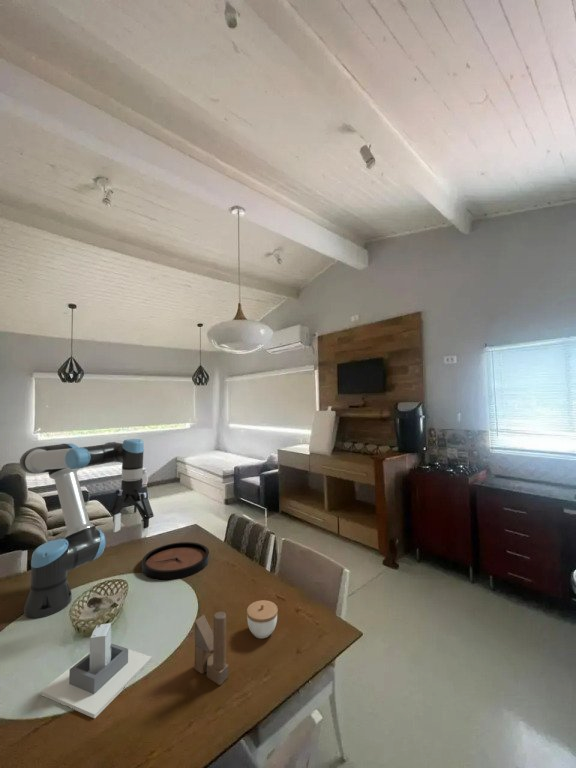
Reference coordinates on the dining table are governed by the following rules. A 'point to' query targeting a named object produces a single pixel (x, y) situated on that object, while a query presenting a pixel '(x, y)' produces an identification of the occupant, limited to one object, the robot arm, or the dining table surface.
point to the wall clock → (175, 561)
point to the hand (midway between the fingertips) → (130, 533)
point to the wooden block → (211, 648)
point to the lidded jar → (262, 618)
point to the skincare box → (100, 648)
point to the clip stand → (96, 681)
